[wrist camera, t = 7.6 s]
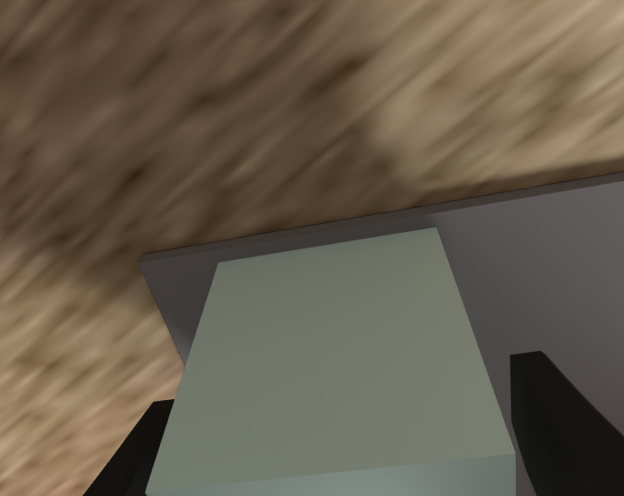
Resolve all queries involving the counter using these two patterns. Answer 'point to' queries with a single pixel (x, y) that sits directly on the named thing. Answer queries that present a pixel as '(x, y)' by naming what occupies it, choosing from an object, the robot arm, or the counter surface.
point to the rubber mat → (477, 280)
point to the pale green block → (336, 381)
